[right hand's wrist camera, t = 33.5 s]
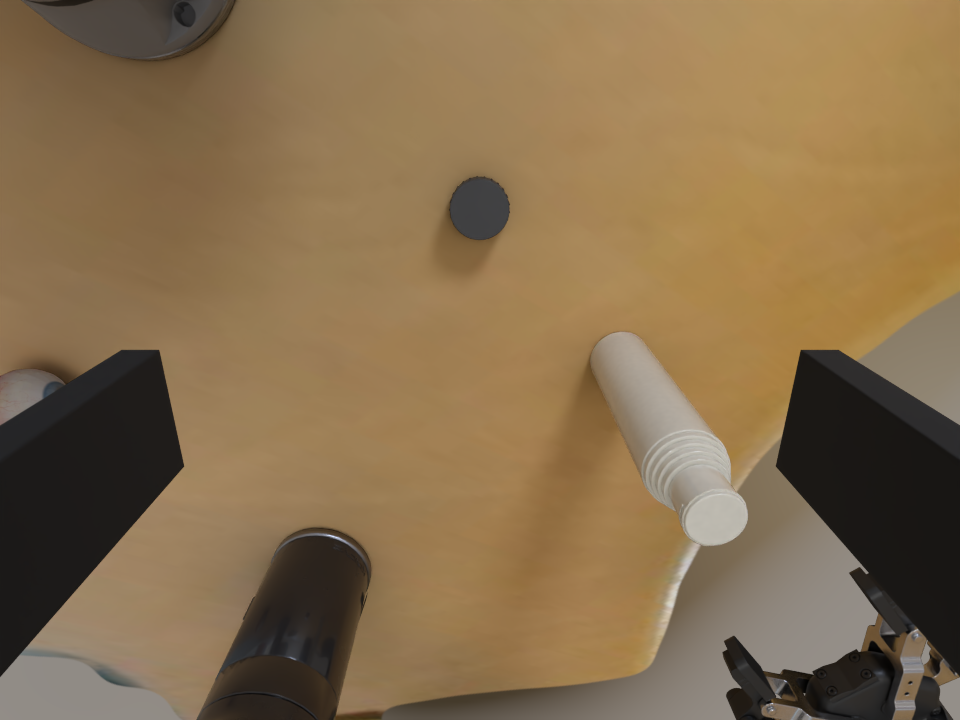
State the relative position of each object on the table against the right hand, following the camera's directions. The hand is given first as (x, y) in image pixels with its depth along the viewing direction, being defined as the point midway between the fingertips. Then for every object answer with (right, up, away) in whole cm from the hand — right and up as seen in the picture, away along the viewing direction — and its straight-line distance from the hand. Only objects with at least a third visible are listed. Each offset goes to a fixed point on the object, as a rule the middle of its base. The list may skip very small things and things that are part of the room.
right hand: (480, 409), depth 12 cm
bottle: (+12, +1, +37) cm, 38 cm away
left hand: (+19, -14, +23) cm, 33 cm away
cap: (0, +12, +30) cm, 33 cm away
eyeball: (-36, -1, +38) cm, 52 cm away
